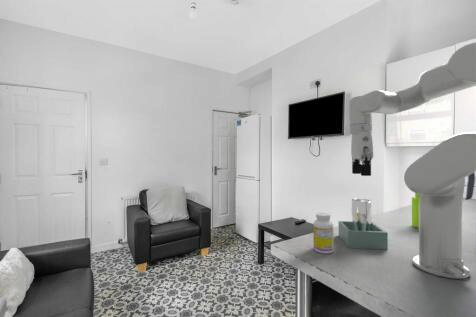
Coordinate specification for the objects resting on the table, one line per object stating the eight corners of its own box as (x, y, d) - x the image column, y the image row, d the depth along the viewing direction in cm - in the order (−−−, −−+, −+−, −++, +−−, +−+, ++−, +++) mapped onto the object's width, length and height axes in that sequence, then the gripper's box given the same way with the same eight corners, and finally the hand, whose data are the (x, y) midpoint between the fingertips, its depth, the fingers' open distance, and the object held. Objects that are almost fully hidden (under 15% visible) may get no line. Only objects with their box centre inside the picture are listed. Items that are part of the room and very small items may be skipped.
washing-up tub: (387, 249, 82) (387, 232, 82) (348, 247, 84) (348, 231, 84) (372, 236, 95) (372, 222, 95) (338, 235, 97) (338, 221, 97)
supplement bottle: (317, 245, 87) (317, 210, 87) (336, 249, 83) (336, 213, 82) (310, 251, 82) (310, 214, 82) (329, 256, 77) (329, 217, 77)
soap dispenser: (413, 228, 105) (413, 183, 105) (410, 223, 111) (410, 182, 111) (430, 229, 103) (430, 184, 102) (426, 225, 109) (426, 182, 108)
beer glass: (366, 236, 93) (366, 198, 92) (375, 242, 86) (375, 202, 86) (348, 236, 93) (348, 198, 93) (356, 242, 86) (355, 202, 86)
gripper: (381, 126, 80) (382, 176, 80) (362, 131, 97) (363, 173, 97) (357, 127, 81) (358, 176, 81) (343, 132, 98) (344, 173, 98)
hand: (361, 174), depth 89 cm, fingers open, 9 cm apart
